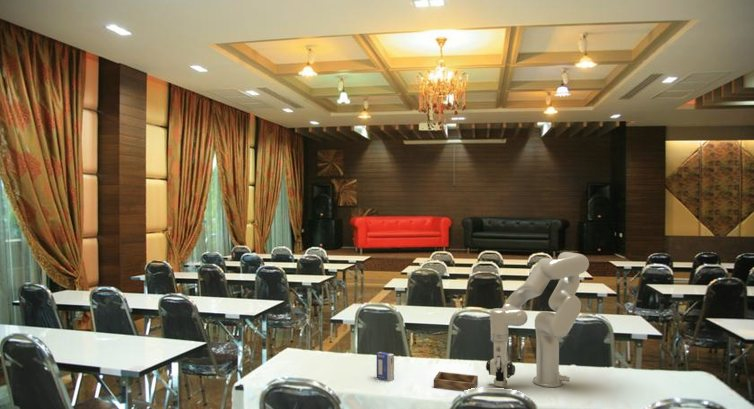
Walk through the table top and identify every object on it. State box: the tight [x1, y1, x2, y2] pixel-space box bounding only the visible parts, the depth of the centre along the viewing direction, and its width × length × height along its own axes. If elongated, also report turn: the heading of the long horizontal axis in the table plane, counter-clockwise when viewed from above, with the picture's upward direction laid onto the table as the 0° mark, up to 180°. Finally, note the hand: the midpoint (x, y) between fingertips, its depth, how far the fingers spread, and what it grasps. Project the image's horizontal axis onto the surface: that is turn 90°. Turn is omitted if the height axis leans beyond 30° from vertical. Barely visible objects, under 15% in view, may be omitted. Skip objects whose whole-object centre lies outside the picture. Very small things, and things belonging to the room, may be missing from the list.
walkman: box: [376, 351, 395, 382], centre depth 242 cm, size 8×3×12 cm, turn 57°
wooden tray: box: [433, 371, 479, 392], centre depth 234 cm, size 17×11×4 cm, turn 71°
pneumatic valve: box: [485, 357, 516, 388], centre depth 233 cm, size 6×12×12 cm, turn 56°
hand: (500, 378), depth 233 cm, fingers closed on pneumatic valve, 5 cm apart
